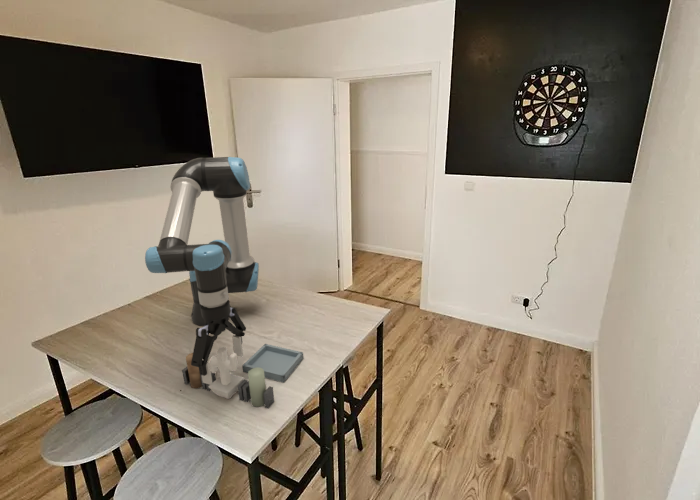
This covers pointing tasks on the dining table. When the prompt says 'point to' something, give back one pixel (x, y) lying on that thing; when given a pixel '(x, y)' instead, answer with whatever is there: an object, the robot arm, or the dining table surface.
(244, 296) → the dining table surface
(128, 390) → the dining table surface
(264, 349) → the tray
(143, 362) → the dining table surface
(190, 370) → the brown rounded cylinder
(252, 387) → the green dowel
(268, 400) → the clip posts
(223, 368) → the figurine
